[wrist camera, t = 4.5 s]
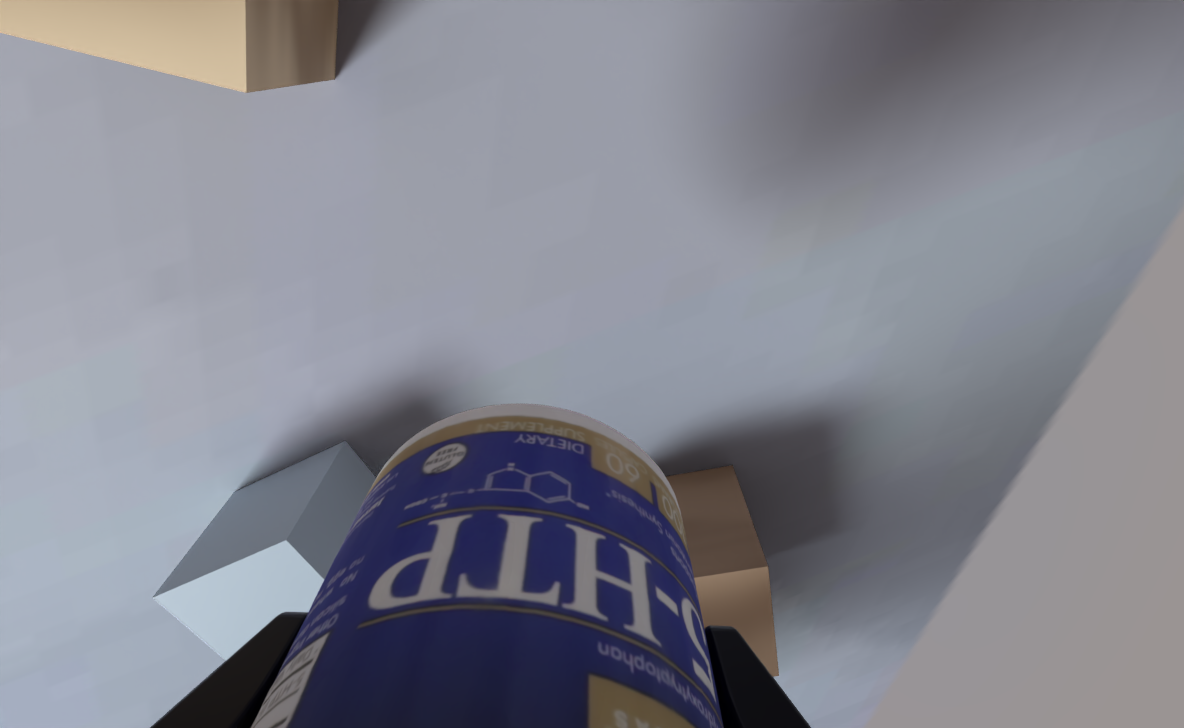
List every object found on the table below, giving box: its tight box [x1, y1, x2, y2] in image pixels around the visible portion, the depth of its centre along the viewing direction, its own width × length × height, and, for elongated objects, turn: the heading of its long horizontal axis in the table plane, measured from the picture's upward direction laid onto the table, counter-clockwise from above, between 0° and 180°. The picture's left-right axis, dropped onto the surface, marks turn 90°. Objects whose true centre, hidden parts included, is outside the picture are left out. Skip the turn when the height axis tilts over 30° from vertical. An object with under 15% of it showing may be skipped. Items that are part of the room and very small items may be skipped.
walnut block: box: [666, 465, 779, 677], centre depth 22 cm, size 5×5×5 cm
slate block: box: [153, 441, 376, 661], centre depth 21 cm, size 5×5×5 cm
